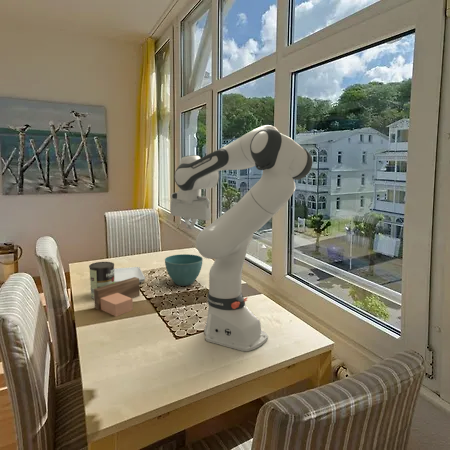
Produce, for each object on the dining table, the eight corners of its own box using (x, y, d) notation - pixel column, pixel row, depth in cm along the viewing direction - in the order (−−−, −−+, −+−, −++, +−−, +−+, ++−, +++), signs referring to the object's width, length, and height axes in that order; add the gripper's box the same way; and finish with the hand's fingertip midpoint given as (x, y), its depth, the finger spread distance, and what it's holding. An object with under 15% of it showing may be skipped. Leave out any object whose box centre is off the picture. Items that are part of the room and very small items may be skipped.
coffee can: (119, 292, 162) (118, 262, 159) (107, 300, 152) (106, 268, 149) (98, 290, 164) (97, 260, 161) (85, 298, 154) (84, 267, 151)
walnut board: (139, 295, 158) (139, 278, 156) (99, 309, 142) (98, 290, 141) (135, 294, 160) (134, 277, 158) (94, 307, 144) (93, 289, 143)
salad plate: (146, 284, 173) (146, 278, 173) (99, 289, 165) (99, 282, 165) (139, 272, 193) (139, 266, 192) (97, 276, 185) (97, 269, 184)
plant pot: (158, 286, 170) (157, 261, 168) (175, 275, 187) (175, 252, 185) (193, 291, 164) (193, 265, 162) (207, 279, 181) (208, 256, 179)
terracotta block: (132, 310, 143) (132, 298, 142) (115, 317, 137) (115, 304, 136) (117, 304, 149) (117, 292, 148) (100, 310, 143) (100, 298, 142)
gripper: (214, 196, 143) (214, 230, 146) (178, 193, 156) (178, 224, 158) (204, 197, 139) (203, 232, 141) (167, 194, 151) (168, 226, 154)
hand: (190, 228), depth 150 cm, fingers closed
